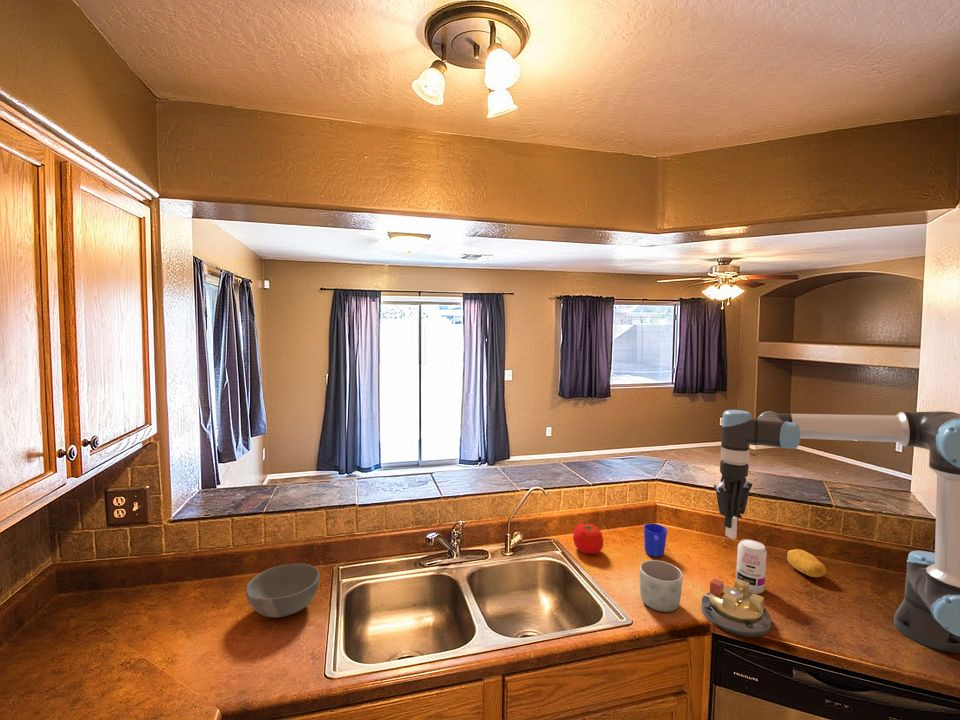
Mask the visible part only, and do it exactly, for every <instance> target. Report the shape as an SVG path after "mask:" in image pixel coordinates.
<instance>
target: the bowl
mask: <svg viewBox="0 0 960 720" xmlns="http://www.w3.org/2000/svg"><path fill="white" fill-rule="evenodd" d="M319 584H320V571H319V569H318V568H317V567H315V566H314V565H312V564H307V563H301V562H300V563H288V564H281V565H278V566H273V567H270V568H268V569H266V570H264V571H262V572H260V573H258V574H256V575H255V576H254V577H253V578H252V579H251V580H249V582H248V583H247V585H246V589H245V594H246V599H247V601H248V603H249V605H250V606H251V607H252V609H253V610H254V611H255V612H257V613H258V614H260V615H261V616H264V617H267V618H283V617H287V616H291V615H294V614H295V613H298V612H300V611H302V610H303V609H305V607H308V605H309V603H310V602H311V601H312V600H313V599H314V597H315V596H316V594H317V591H318V588H319Z"/></svg>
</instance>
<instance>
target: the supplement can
mask: <svg viewBox="0 0 960 720" xmlns="http://www.w3.org/2000/svg"><path fill="white" fill-rule="evenodd" d="M736 555H737V556H736V572H735V581H736V580H737V579H740V580H743V581H746V582H748V583H749V593H750V594H753V593H754V594H757V595H759V594H762V593H763V592H765V587H766V586H765V585H766V572H767V555H768V551H767V550H766V546H765V545H764V544H763V543H762V542H759V541H756V540H753V539H749V538H747V539H746V538H745V539H740V542H739V543H738V544H737V554H736Z"/></svg>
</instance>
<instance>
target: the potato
mask: <svg viewBox="0 0 960 720" xmlns="http://www.w3.org/2000/svg"><path fill="white" fill-rule="evenodd" d="M786 559H787V561H788V562H789V564H790V565H791V567H792V568H794V569H795V570H797V571H798V572H800V573H802V574H804V575H806V576H808V577H812V578H820V577H824V576H825V575H826V574H827V568H826V565H825V564H823V563H822V562H821V561H820V560H818V558H817V557H816V556H815V555H813V554H811V552H807V551H806V550H803V549H798V548H795V549H790V550H788V551H787V555H786Z"/></svg>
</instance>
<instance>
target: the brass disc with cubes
mask: <svg viewBox="0 0 960 720" xmlns="http://www.w3.org/2000/svg"><path fill="white" fill-rule="evenodd" d="M709 583H710V584H709V592H710V595H709V603H710V605H711V607H712V608H713V609H714V610H715V611H716V612H717V613H719V614H720V615H722V616H724V617H726V618H728V619H731V620H734V621H737V622H742V623H756V622H759V621H760V620H761V619H762V618H763V607H765V606H764V605H765V604H764V603H765V602H764V601H765V597H764V596H762V595H759V594H754V593H753V594H752V593H749V583H748V582H746V581H743V580H740V579H737V580H736V579H735V582H734V587H733V586H725V585H724V584H725V582H724V581H722V580H720V579H717V578H714V577H713V579H712V580H711V581H710V582H709ZM730 589H737V590H739V591H741V592H742V593H743V602H740V603H739V602H738V597H736V596H733V595H731V594H729V590H730Z"/></svg>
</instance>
